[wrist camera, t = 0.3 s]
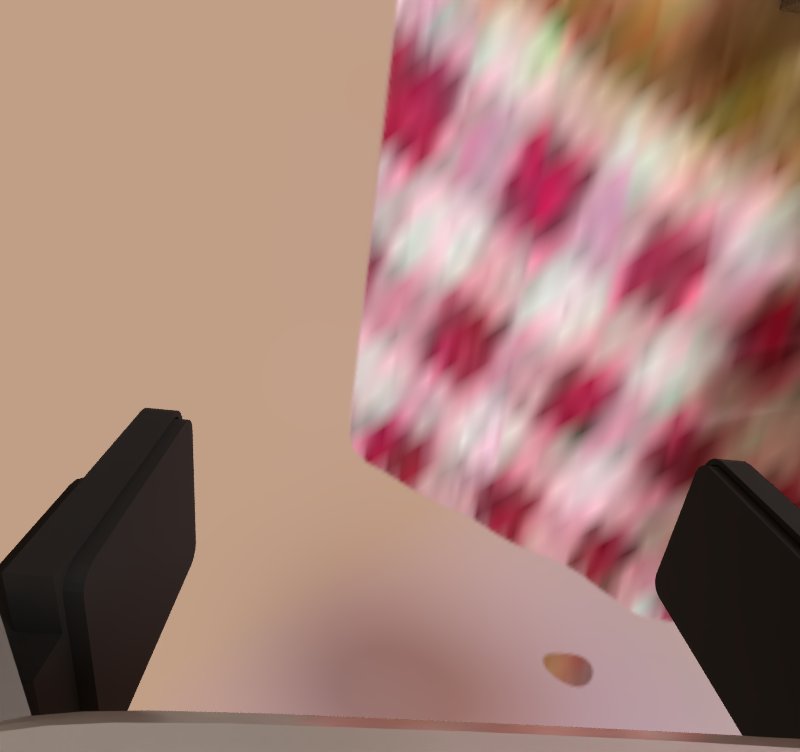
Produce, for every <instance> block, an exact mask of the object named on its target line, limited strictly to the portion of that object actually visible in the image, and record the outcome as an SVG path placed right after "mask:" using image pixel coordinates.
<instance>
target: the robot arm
mask: <svg viewBox="0 0 800 752" xmlns="http://www.w3.org/2000/svg"><path fill="white" fill-rule="evenodd" d="M193 467H194V466H193V434H192V423H191V421H190V420H184V419H182V416H181V413H180V412H179V411H174V410H163V409H151V408H144V409H143V410H142V411H141V412H140V413H139V414H138V415H137V417H136V418H135V419H134V420H133V421H132V422H131V423H130V425H129V426H128V427H127V428H126V429H125V430H124V432H123V433H122V434H121V435H120V436H119V437H118V438H117V440H116V441H115V442H114V443H113V445H112V446H111V447H110V448H109V449H108V450H107V451H106V452H105V454H104V455H103V456H102V457H101V458H100V459H99V461H98V462H97V463H96V464H95V465H94V466H93V467H92V469H91V470H90V471H89V472H88V474H86V476H85V477H84V478H80V479H76V480H75V481H74V482H73V483H72V484H70V485H69V486H68V488H67V489H66V490H65V491H64V492H63V493H62V495H61V496H60V497H59V498H58V499H57V500H56V501H55V502H54V503H53V505H52V506H51V507H50V508H49V509H48V510H47V511H46V513H45V514H44V515H43V516H42V517H41V518H40V519H39V520H38V521H37V523H36V524H35V525H34V526H33V527H32V528H31V530H30V531H29V532H28V533H27V534H26V535H25V536H24V537H23V539H22V540H21V541H20V542H19V543H18V544H17V545H16V547H15V548H14V549H13V550H12V551H11V552H10V553H9V554H8V555H7V557H6V558H5V559H4V560H3V561H2V562H1V563H0V752H800V509H799V508H798V507H797V506H796V505H795V504H793V503H792V502H791V501H790V500H789V499H788V498H787V497H786V496H784V495H783V494H782V493H781V492H780V491H779V490H778V489H777V488H776V487H774V486H773V485H772V484H771V483H770V482H769V481H768V480H767V479H765V478H764V477H763V476H762V475H761V474H760V473H759V472H758V471H756V470H755V469H754V468H753V467H752V466H751V465H750V464H748V463H746V462H743V461H733V460H722V459H712V460H709V461H708V462H707V463H706V464H705V466H704V465H703V466H701V467H699V468H698V469H697V471H696V473H695V476H694V478H693V481H692V484H691V486H690V489H689V491H688V494H687V496H686V499H685V502H684V504H683V507H682V509H681V512H680V515H679V517H678V520H677V522H676V525H675V528H674V530H673V533H672V535H671V538H670V540H669V543H668V546H667V548H666V551H665V553H664V556H663V559H662V561H661V564H660V566H659V569H658V572H657V574H656V578H655V586H656V591H657V594H658V596H659V598H660V600H661V601H662V603H663V605H664V606H665V608H666V610H667V611H668V613H669V614H670V616H671V618H672V619H673V621H674V623H675V624H676V626H677V628H678V629H679V631H680V633H681V634H682V636H683V638H684V639H685V641H686V643H687V644H688V646H689V648H690V649H691V651H692V653H693V654H694V656H695V657H696V659H697V661H698V662H699V664H700V666H701V667H702V669H703V671H704V673H705V674H706V676H707V677H708V679H709V680H710V682H711V684H712V686H713V687H714V689H715V691H716V692H717V694H718V696H719V697H720V699H721V701H722V702H723V704H724V706H725V707H726V709H727V711H728V712H729V714H730V716H731V717H732V719H733V720H734V722H735V724H736V726H737V727H738V729H739V731H740V732H741V734H742V736H736V735H717V734H701V733H700V734H699V733H681V732H662V731H642V730H621V729H601V728H582V727H561V726H541V725H520V724H519V725H518V724H497V723H478V722H477V723H476V722H457V721H433V720H409V719H386V718H364V717H361V718H360V717H339V716H315V715H294V714H265V713H264V714H263V713H227V712H188V711H187V712H186V711H127V710H128V708H129V706H130V703H131V701H132V699H133V697H134V694H135V692H136V689H137V687H138V685H139V683H140V680H141V678H142V676H143V674H144V671H145V669H146V667H147V664H148V662H149V660H150V658H151V655H152V653H153V651H154V649H155V646H156V644H157V642H158V639H159V637H160V635H161V632H162V630H163V628H164V626H165V623H166V621H167V619H168V617H169V614H170V612H171V610H172V607H173V605H174V603H175V600H176V598H177V596H178V593H179V591H180V589H181V587H182V585H183V582H184V580H185V578H186V575H187V573H188V571H189V568H190V566H191V564H192V561H193V558H194V553H195V546H196V545H195V544H196V534H195V500H194V468H193Z"/></svg>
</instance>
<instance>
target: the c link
mask: <svg viewBox="0 0 800 752" xmlns="http://www.w3.org/2000/svg"><path fill="white" fill-rule="evenodd" d="M780 9H783V10H788V11H792V12H797V13H800V0H783V1H782V4H781V7H780Z"/></svg>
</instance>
